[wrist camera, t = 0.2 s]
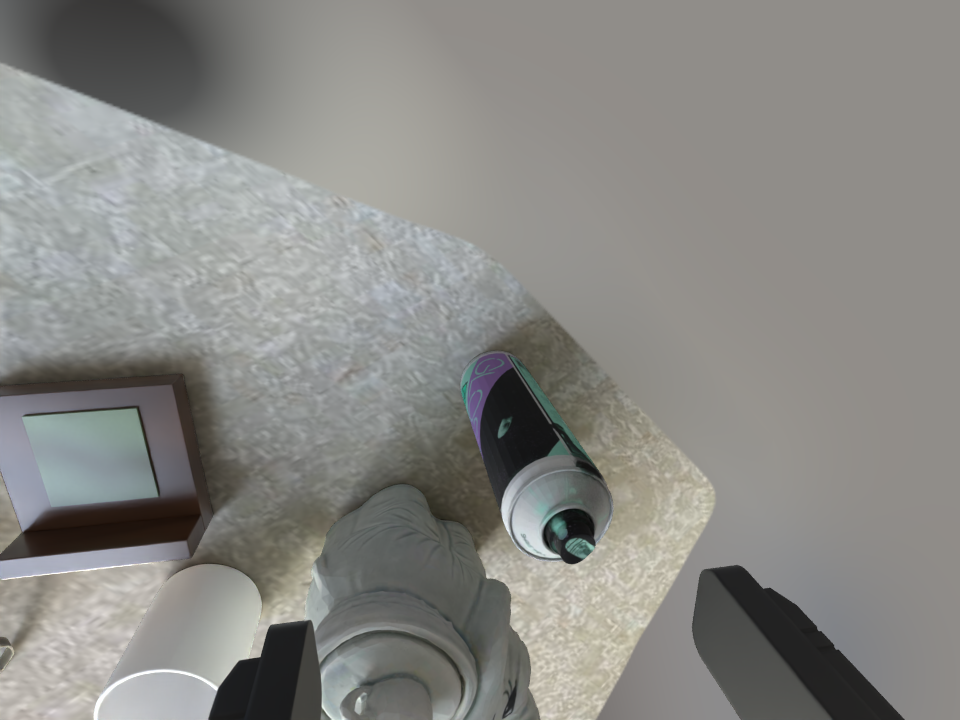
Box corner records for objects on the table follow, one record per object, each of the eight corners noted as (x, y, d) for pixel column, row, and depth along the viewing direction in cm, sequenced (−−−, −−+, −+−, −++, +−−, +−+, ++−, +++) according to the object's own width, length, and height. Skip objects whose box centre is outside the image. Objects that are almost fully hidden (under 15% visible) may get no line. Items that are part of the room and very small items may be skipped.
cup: (269, 564, 44) (236, 671, 35) (254, 674, 48) (221, 798, 38) (159, 556, 42) (94, 666, 33) (152, 671, 46) (91, 801, 36)
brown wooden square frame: (-6, 385, 36) (-64, 417, 32) (183, 373, 38) (154, 401, 33) (44, 533, 40) (0, 580, 36) (213, 516, 42) (191, 558, 37)
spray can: (467, 345, 41) (533, 490, 22) (535, 355, 42) (652, 501, 23) (453, 410, 42) (505, 597, 24) (519, 418, 44) (617, 602, 25)
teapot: (506, 610, 50) (570, 846, 32) (342, 640, 48) (315, 908, 31) (496, 455, 44) (566, 640, 27) (309, 482, 42) (254, 700, 25)
